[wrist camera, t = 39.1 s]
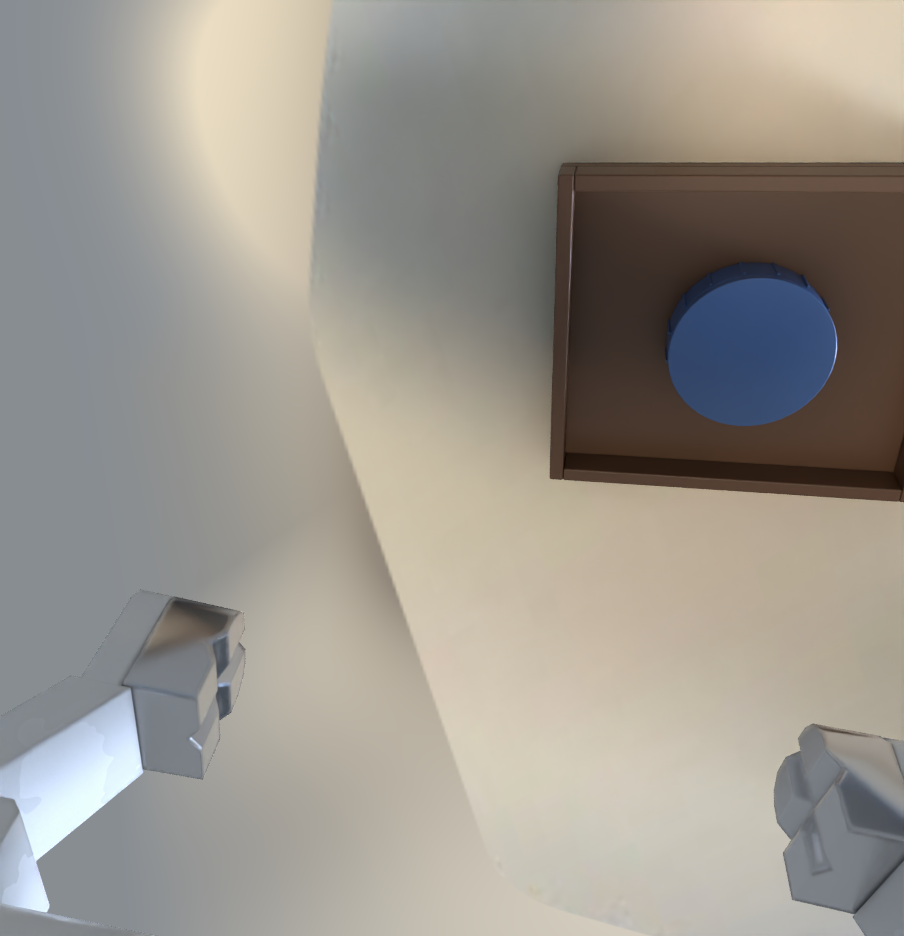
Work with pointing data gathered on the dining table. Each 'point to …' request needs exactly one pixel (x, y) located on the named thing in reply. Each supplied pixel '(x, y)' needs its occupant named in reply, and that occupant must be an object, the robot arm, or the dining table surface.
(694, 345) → the jar lid
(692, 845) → the dining table surface
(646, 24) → the dining table surface
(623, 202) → the tray
